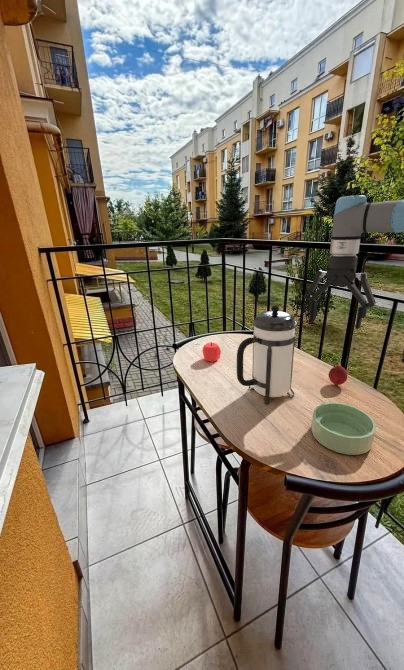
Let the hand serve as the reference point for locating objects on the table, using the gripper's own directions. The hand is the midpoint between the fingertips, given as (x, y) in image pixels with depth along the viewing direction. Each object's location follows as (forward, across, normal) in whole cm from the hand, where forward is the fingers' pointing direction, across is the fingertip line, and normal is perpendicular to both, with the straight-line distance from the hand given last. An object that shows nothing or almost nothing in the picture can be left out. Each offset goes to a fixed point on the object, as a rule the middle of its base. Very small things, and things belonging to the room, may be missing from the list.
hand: (334, 323), depth 89 cm
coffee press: (+22, -13, -18) cm, 31 cm away
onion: (+22, +3, +1) cm, 22 cm away
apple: (+22, -44, -8) cm, 50 cm away
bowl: (+22, +12, -24) cm, 35 cm away
